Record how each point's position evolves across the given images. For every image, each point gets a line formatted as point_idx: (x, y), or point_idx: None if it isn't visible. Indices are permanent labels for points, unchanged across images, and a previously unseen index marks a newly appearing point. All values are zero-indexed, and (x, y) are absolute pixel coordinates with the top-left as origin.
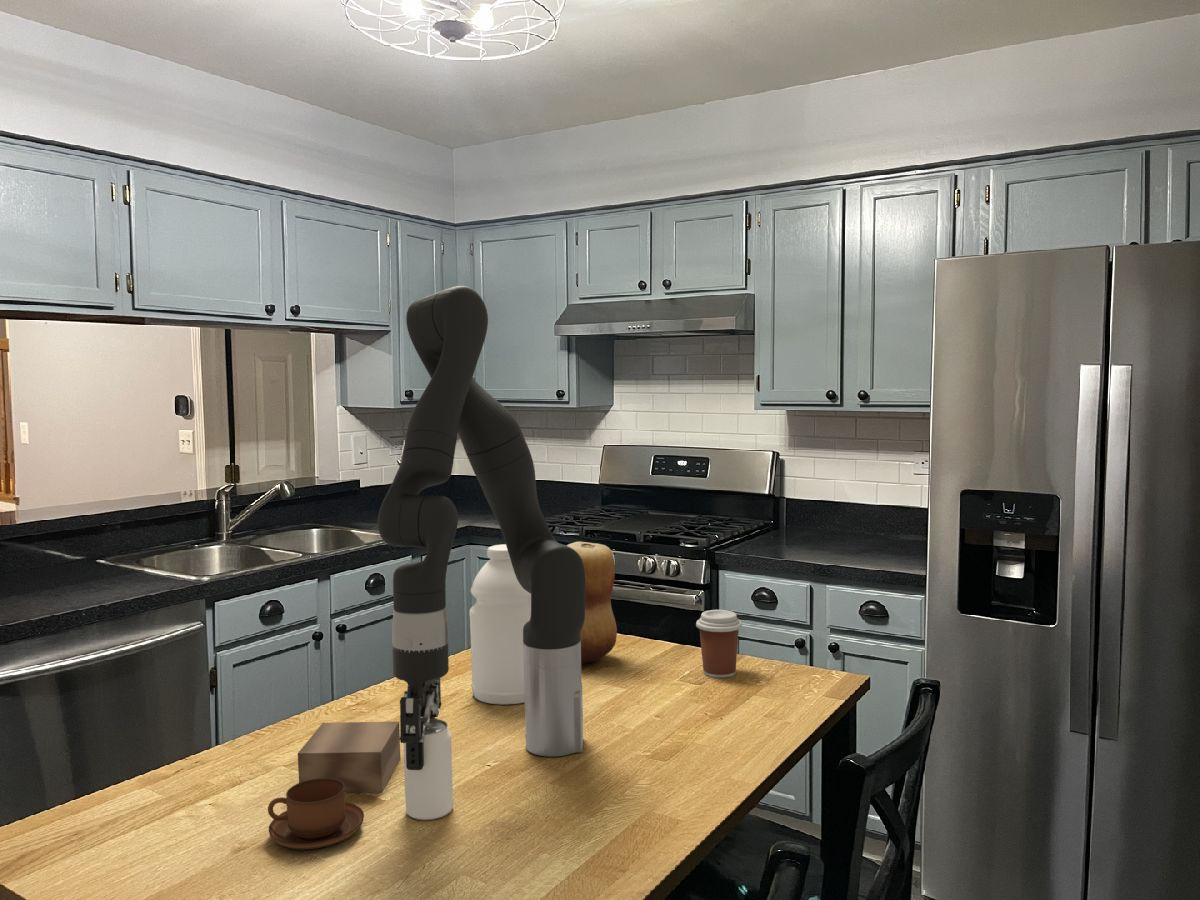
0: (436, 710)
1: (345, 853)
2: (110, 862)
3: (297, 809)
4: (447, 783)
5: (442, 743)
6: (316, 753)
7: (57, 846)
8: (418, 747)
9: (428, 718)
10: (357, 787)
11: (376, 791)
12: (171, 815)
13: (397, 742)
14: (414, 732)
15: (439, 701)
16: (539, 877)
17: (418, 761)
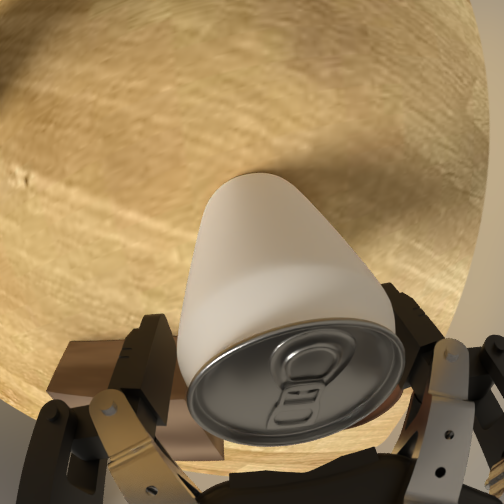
0: (126, 427)
1: None
2: (362, 436)
3: (391, 394)
4: (295, 194)
5: (366, 274)
6: (217, 450)
7: (331, 460)
8: (439, 336)
9: (462, 418)
10: None
11: None
12: (285, 451)
13: (70, 367)
14: (343, 408)
15: (57, 432)
16: (454, 8)
17: (417, 304)
